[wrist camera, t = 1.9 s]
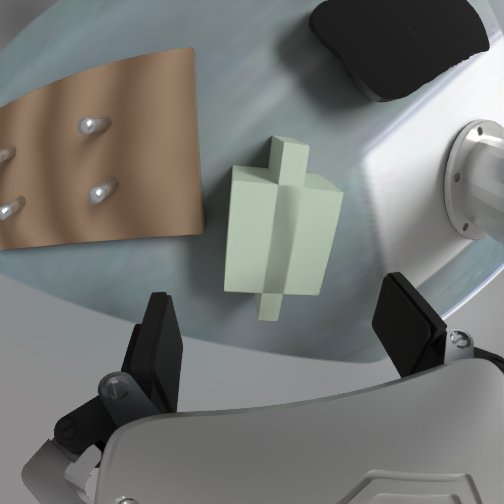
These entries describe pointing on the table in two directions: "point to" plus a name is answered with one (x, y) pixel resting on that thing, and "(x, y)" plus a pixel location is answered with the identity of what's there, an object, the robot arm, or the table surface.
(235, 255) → the green grooved block
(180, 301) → the table surface
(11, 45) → the table surface
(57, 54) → the table surface
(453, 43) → the black sponge
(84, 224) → the pin plate
